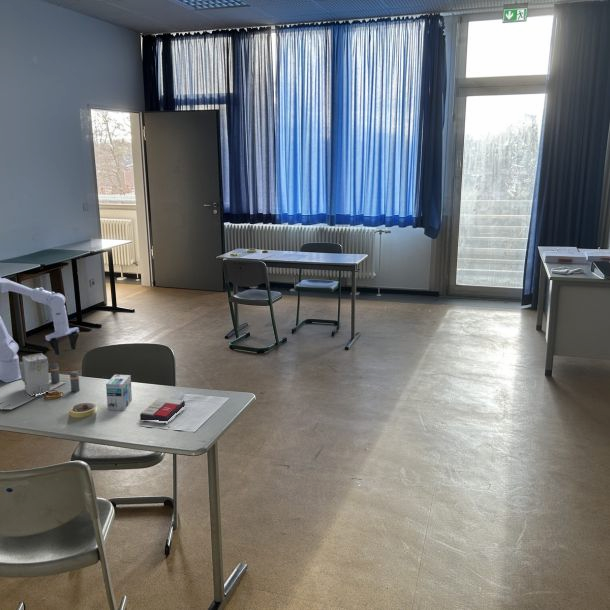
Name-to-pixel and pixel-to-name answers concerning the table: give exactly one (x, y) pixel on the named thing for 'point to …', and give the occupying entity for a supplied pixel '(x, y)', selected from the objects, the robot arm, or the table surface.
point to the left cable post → (54, 373)
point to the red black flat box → (162, 409)
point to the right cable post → (74, 381)
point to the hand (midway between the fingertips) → (65, 351)
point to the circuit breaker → (35, 373)
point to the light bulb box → (119, 392)
